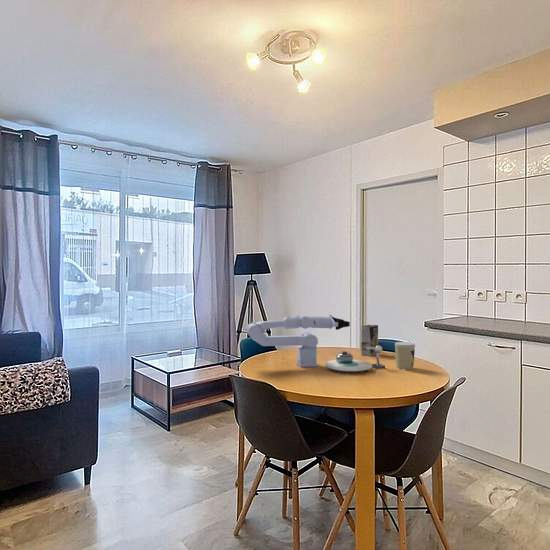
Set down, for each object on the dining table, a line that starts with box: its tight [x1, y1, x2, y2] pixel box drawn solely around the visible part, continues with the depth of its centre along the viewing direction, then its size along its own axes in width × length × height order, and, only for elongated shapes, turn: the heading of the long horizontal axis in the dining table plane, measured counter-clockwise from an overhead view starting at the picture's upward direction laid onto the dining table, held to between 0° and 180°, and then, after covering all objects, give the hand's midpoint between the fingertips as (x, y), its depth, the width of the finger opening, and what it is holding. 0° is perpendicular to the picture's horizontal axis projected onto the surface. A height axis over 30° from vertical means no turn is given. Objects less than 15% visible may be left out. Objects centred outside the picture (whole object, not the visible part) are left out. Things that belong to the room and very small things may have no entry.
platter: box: [324, 359, 373, 371], centre depth 202 cm, size 22×22×1 cm
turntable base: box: [329, 368, 368, 375], centre depth 203 cm, size 18×18×2 cm
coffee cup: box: [394, 341, 416, 371], centre depth 204 cm, size 9×9×12 cm
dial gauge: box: [366, 344, 386, 370], centre depth 205 cm, size 8×5×11 cm, turn 101°
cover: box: [335, 350, 354, 363], centre depth 208 cm, size 8×8×5 cm
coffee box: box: [360, 324, 379, 357], centre depth 236 cm, size 9×6×16 cm
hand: (346, 323), depth 215 cm, fingers open, 7 cm apart
